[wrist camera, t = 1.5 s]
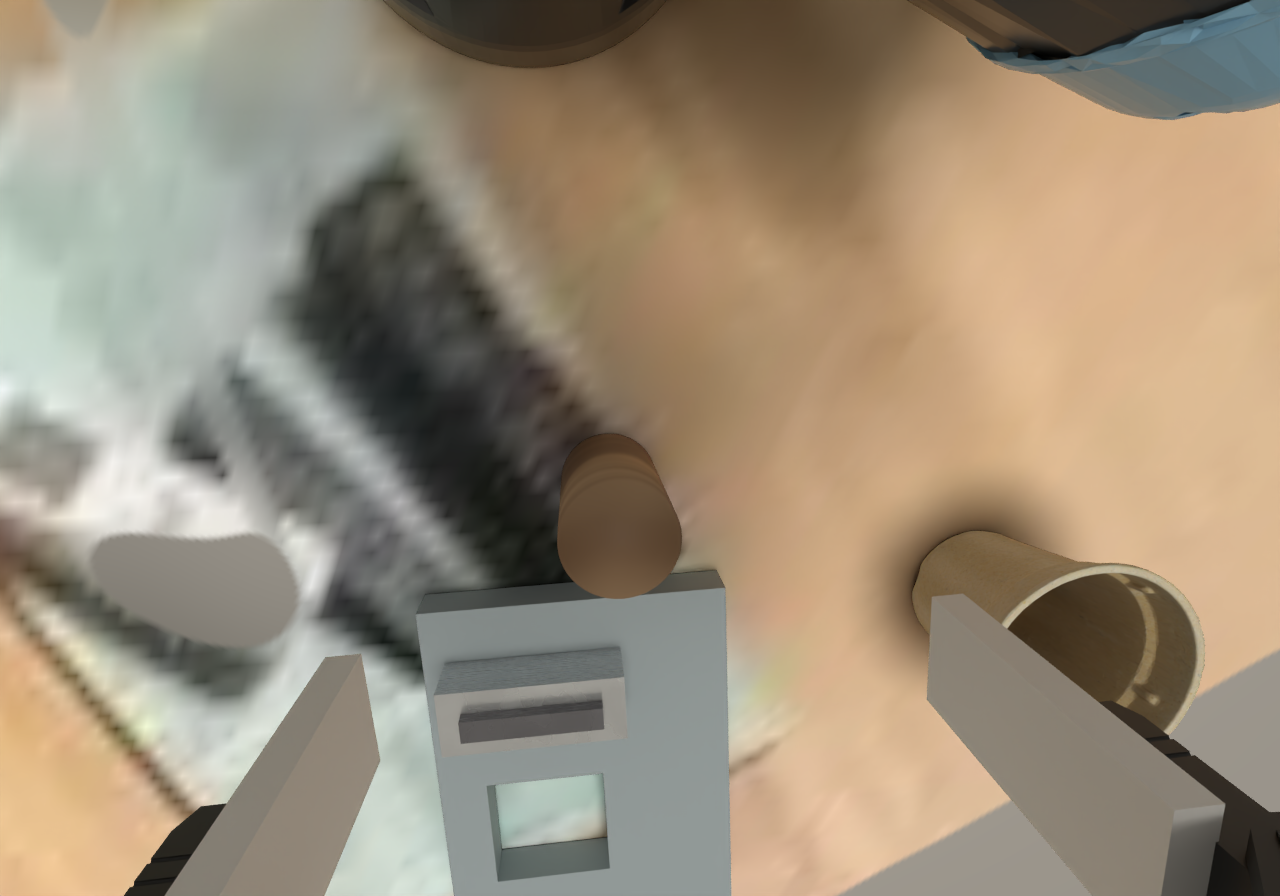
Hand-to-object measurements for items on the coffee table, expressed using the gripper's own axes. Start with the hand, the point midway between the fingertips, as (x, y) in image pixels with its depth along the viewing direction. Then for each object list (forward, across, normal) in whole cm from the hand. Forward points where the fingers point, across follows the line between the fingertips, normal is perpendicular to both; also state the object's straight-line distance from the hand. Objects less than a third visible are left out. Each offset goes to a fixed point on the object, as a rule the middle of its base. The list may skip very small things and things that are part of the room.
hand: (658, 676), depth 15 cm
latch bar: (+14, -5, -9) cm, 18 cm away
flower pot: (+17, +18, -7) cm, 25 cm away
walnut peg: (+16, 0, 0) cm, 17 cm away
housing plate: (+16, -3, -14) cm, 22 cm away
